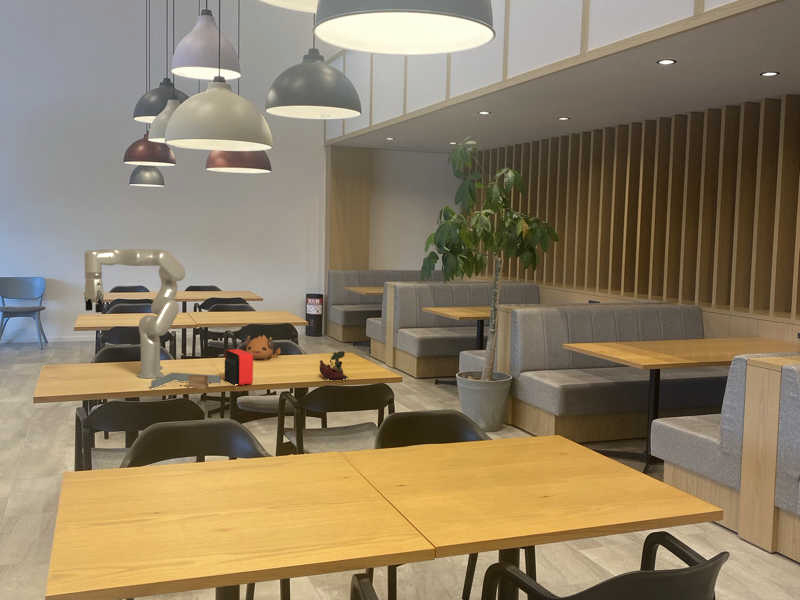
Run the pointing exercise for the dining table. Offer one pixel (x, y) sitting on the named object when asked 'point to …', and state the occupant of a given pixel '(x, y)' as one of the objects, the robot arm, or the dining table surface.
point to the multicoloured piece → (333, 368)
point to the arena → (181, 378)
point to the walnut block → (198, 381)
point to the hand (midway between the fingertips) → (93, 311)
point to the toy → (261, 347)
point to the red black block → (238, 367)
